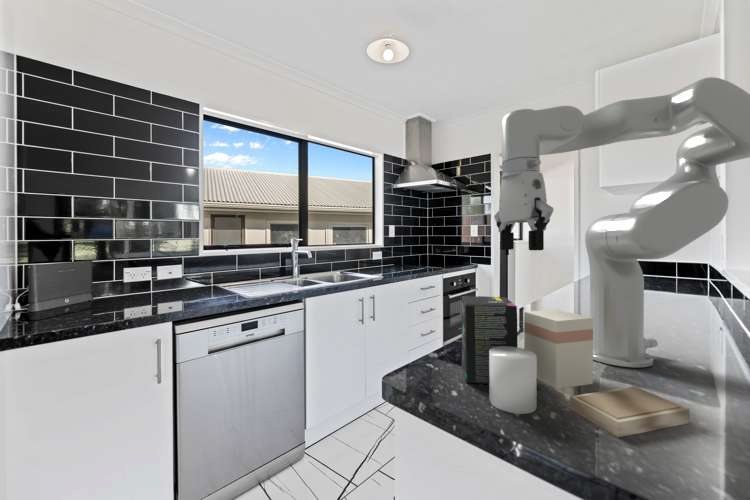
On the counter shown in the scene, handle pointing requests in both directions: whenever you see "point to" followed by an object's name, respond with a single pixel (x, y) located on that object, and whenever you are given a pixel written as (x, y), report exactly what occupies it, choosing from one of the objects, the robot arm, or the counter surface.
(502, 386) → the white pillar candle
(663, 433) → the counter surface
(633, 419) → the podium
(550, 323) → the cream carton
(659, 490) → the counter surface
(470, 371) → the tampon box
